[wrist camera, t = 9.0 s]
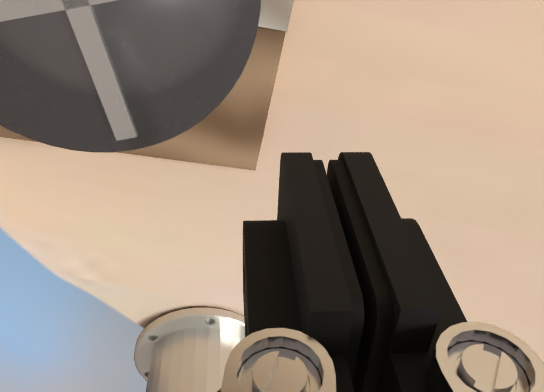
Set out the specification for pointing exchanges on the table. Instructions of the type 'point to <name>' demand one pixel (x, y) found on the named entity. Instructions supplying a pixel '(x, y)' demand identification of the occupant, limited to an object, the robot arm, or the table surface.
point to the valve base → (231, 105)
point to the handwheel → (118, 68)
